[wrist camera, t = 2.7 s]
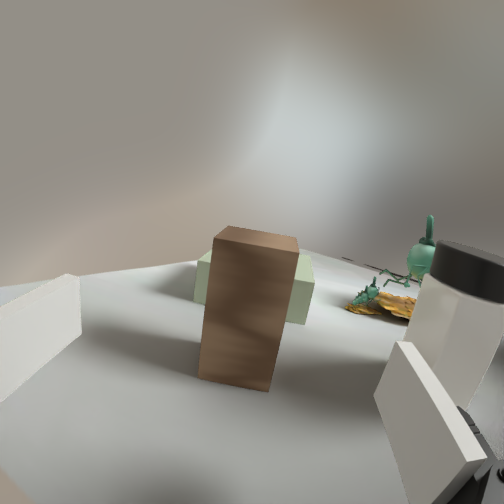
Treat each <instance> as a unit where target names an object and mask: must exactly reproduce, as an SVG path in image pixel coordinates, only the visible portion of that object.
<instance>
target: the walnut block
mask: <svg viewBox="0 0 504 504" xmlns="http://www.w3.org/2000/svg"><path fill="white" fill-rule="evenodd" d="M298 258H299V248H298V244H297V240H296V238H295V237H290V236H284V235H279V234H273V233H267V232H262V231H256V230H250V229H245V228H239V227H233V226H227V227H226V228H225V229H224V230H222V231H221V232H220V233H219V234H218V235H216V236H215V237H214V240H213V248H212V255H211V262H210V270H209V278H208V286H207V294H206V302H205V311H204V320H203V329H202V338H201V347H200V357H199V367H198V378H199V379H204V380H208V381H213V382H217V383H222V384H227V385H232V386H237V387H242V388H247V389H253V390H259V391H265V392H268V391H269V387H270V383H271V379H272V375H273V371H274V367H275V363H276V358H277V354H278V350H279V346H280V341H281V337H282V333H283V328H284V324H285V319H286V315H287V310H288V306H289V301H290V297H291V292H292V287H293V282H294V278H295V273H296V268H297V263H298Z"/></svg>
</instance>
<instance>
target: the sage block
mask: <svg viewBox="0 0 504 504" xmlns="http://www.w3.org/2000/svg"><path fill="white" fill-rule="evenodd" d="M211 255H212V250H210V251H209V252H208V253H206V254H205V255H204V256H203V257H201V258H200V259H199V260H198V263H197V271H196V280H195V289H194V298H193V302H195V303H200V304H204V305H205V302H206V294H207V286H208V278H209V270H210V262H211ZM314 284H315V281H314V276H313V270H312V264H311V259H310V256H307V255H302V254H299V258H298V263H297V268H296V273H295V278H294V282H293V287H292V292H291V297H290V301H289V306H288V310H287V315H286V319H285V321H286V322H292V323H297V324H303V325H305V322H306V318H307V314H308V310H309V306H310V301H311V297H312V293H313V289H314Z"/></svg>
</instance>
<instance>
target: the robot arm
mask: <svg viewBox="0 0 504 504" xmlns="http://www.w3.org/2000/svg"><path fill="white" fill-rule="evenodd" d="M81 334H82V327H81V310H80V277H77V276H74V275H70V274H64V275H62V276H60V277H58V278H56V279H53V280H51V281H49V282H47V283H45V284H43V285H41V286H39V287H37V288H35V289H33V290H31V291H29V292H27V293H25V294H23V295H21V296H19V297H17V298H15V299H14V300H12V301H10V302H8V303H6V304H4V305H2V306H0V403H1V402H2V401H3V400H4V399H5V398H7V397H8V396H9V395H10V394H11V393H12V392H13V391H15V390H16V389H17V388H18V387H19V386H20V385H21V384H23V383H24V382H25V381H26V380H27V379H28V378H30V377H31V376H32V375H33V374H34V373H35V372H37V371H38V370H39V369H40V368H41V367H42V366H44V365H45V364H46V363H47V362H48V361H50V360H51V359H52V358H53V357H54V356H56V355H57V354H58V353H59V352H60V351H62V350H63V349H64V348H65V347H66V346H68V345H69V344H70V343H71V342H72V341H74V340H75V339H76V338H77V337H79V336H80V335H81ZM373 396H374V399H375V401H376V404H377V407H378V410H379V412H380V415H381V418H382V421H383V424H384V427H385V430H386V432H387V435H388V438H389V441H390V444H391V447H392V450H393V453H394V456H395V459H396V462H397V465H398V468H399V472H400V475H401V478H402V481H403V484H404V488H405V491H406V494H407V498H408V501H409V504H504V460H497V458H496V456H495V455H494V453H493V451H492V450H491V448H490V447H489V445H488V443H487V442H486V440H485V439H484V437H483V435H482V434H480V431H479V429H478V428H477V426H475V423H474V421H473V420H472V418H471V417H470V415H469V414H468V413H467V412H465V411H464V410H463V409H462V408H461V407H459V406H455V404H454V403H453V401H452V400H451V398H450V397H449V395H448V394H447V392H446V391H445V389H444V388H443V386H442V385H441V383H440V382H439V380H438V379H437V377H436V376H435V374H434V373H433V372H432V370H431V369H430V367H429V366H428V364H427V363H426V362H425V360H424V359H423V357H422V356H421V354H420V353H419V352H418V350H417V349H416V347H415V346H414V345H413V343H412V342H404V341H395V344H394V347H393V349H392V352H391V355H390V357H389V360H388V362H387V365H386V367H385V369H384V372H383V374H382V377H381V379H380V381H379V384H378V386H377V388H376V390H375V393H374V395H373Z"/></svg>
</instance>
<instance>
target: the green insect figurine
mask: <svg viewBox="0 0 504 504" xmlns="http://www.w3.org/2000/svg"><path fill="white" fill-rule="evenodd" d="M433 224H434V218H433V217H432V216H431V215H429V216H428V217H427V229H426V237H422V238H421V239H420V240H419V243H418V244H416V245H415V246H413V247H412V248H411V250H410V252H409V255H408V258H407V266H408V270H409V272H410V273H409V275H408V276H405V277H402V278H400V279H397V278H396V277H395V276H393V275H392V274H391V273H390V272H389V271H388V270H387V269H386V270H384V271H382V272H380V273H379V275H381V274H382V273H384V272H386V271H387V272H388V273H389V274H390V275H391V276H392V277H393V278H394V279H395V280H397V281H394V280H391V279H388V280H387V281H386V283H385V284H384V285H383V286H384V287H385V285H386V284H387V283H388V282H389V281H392V282H396V283H399V284H403V285H404V286H405V287H410V284H409V283H408V280H409V279H410V278H411V277H412V275H413V276H414V277H415V278H416V279H418V282H419V286H420V287H421V284H420V281H419V279H420V280H421V281H422V280H423V277H424V274H426V273H430V267H431V263H432V260H433V256H434V252H435V248H436V244H434V242H433V240H432V236H433ZM407 277H408V279H407V280H406V282H405V283H401V282H399V281H398V280H402V279H404V278H407ZM375 282H376V277H374V279H373V284H371V285H370V286H369V287H368V286H366V289H365V291H363V290H362V291H361V293H359V292H358V296H356V298H355V299H354V300H353V302H352V303H353V304H349V303H347V304H348V305H349V306H345V308H346V309H348V310H350V311H352V312H354V313H357V314H358V313H359V314H360V313H361V314H380V315H382V314H381V312H377V310H375V309H372V308H371V307H368V304H369V303H370V302H371V301H372V300H374V301H376V302H378V303H377V304H378V305H380V306H381V307H383V308H385V309H386V310H390V311H391V313H392V314H393V315H396V316H399V317H404V318H407V319H409V320H410V319H411V316H412V313H413V310H414V307H415V303H416V299H414V298H413V299H412V298H410V297H408V296H407V297H408V298H407V297H400V296H393V295H391V294H389V293H385V292H380V293H379V290H378V289H377V288H376V286H375V284H376V283H375ZM378 288H379V287H378ZM359 294H360V295H359ZM368 299H369V300H370V299H371V301H370V302H369V303H368V304H367V302H366V301H369V300H368ZM362 302H363V303H366V304H367V306H366V305H363V304H360V303H362Z"/></svg>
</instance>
